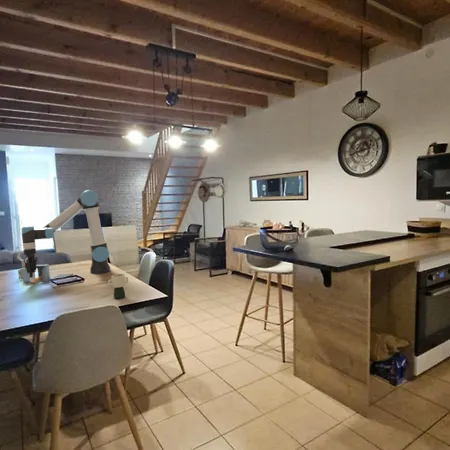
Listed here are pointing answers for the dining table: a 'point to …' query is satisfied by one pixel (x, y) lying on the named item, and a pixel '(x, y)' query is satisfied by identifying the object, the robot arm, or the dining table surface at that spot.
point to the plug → (38, 276)
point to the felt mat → (63, 275)
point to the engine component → (22, 265)
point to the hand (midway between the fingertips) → (32, 281)
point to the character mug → (118, 285)
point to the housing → (26, 275)
